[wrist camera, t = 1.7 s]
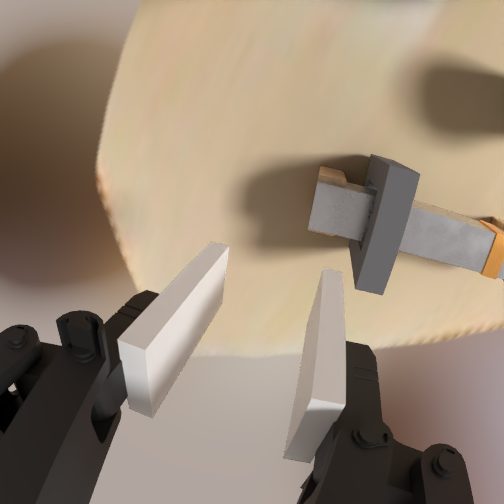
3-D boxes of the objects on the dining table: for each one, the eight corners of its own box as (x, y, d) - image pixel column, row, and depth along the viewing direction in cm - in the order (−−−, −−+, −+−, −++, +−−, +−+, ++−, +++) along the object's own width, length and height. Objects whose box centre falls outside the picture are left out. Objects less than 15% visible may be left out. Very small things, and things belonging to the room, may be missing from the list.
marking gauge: (320, 165, 32) (318, 176, 24) (506, 221, 28) (541, 246, 21) (311, 210, 34) (306, 234, 26) (493, 259, 30) (523, 290, 23)
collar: (370, 154, 29) (389, 164, 20) (393, 160, 29) (420, 173, 20) (348, 244, 33) (355, 289, 24) (369, 249, 33) (382, 295, 24)
